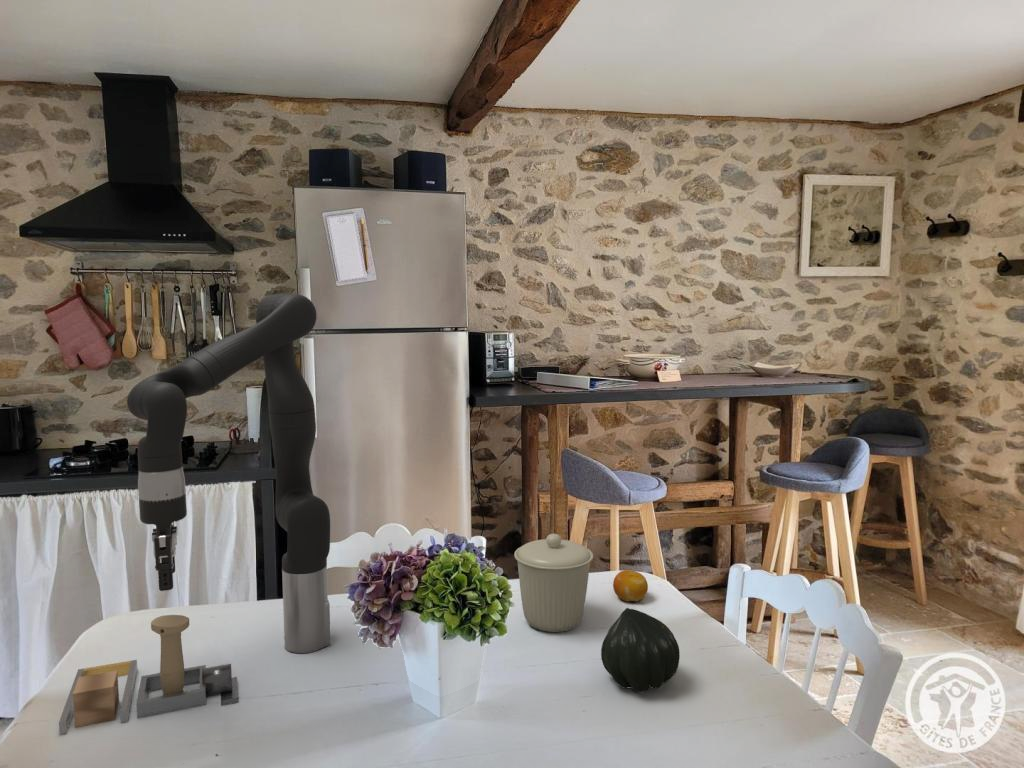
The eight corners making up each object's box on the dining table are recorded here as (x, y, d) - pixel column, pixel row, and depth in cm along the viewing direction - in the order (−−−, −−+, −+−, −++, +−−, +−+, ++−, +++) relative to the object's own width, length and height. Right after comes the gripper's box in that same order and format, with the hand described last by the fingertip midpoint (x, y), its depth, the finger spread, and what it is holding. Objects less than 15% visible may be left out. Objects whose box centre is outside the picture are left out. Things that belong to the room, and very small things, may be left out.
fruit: (639, 596, 172) (635, 563, 176) (608, 601, 176) (605, 569, 180) (655, 602, 178) (651, 570, 182) (624, 607, 182) (621, 575, 186)
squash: (703, 670, 133) (671, 593, 140) (634, 690, 127) (604, 608, 135) (670, 690, 143) (641, 617, 151) (605, 709, 138) (579, 632, 146)
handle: (181, 707, 128) (178, 628, 126) (148, 704, 129) (145, 625, 127) (197, 693, 133) (194, 616, 131) (165, 689, 134) (162, 613, 132)
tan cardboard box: (119, 701, 129) (117, 670, 129) (115, 719, 124) (113, 686, 123) (80, 709, 127) (78, 677, 126) (74, 727, 121) (72, 694, 121)
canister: (596, 641, 156) (597, 547, 154) (513, 640, 156) (513, 547, 154) (588, 606, 174) (589, 522, 172) (514, 606, 174) (514, 522, 172)
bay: (137, 676, 141) (136, 659, 140) (127, 728, 123) (126, 709, 123) (79, 686, 137) (78, 669, 136) (60, 742, 119) (58, 722, 119)
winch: (236, 679, 140) (235, 652, 139) (238, 705, 131) (237, 676, 130) (142, 696, 133) (141, 668, 133) (137, 725, 124) (136, 695, 124)
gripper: (184, 501, 122) (189, 592, 123) (186, 482, 135) (191, 565, 136) (134, 506, 119) (140, 599, 120) (142, 486, 132) (147, 570, 133)
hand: (167, 581), depth 128 cm, fingers open, 8 cm apart
